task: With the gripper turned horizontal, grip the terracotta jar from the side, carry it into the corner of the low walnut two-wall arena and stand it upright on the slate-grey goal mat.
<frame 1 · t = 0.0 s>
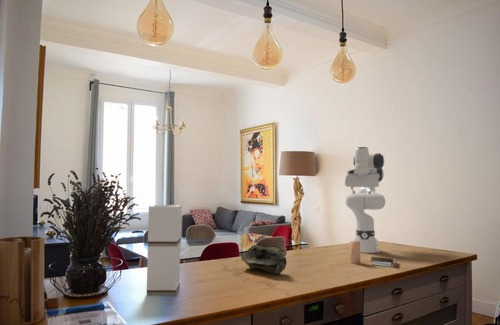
hand: (361, 194, 231), 39 cm above the kitchen island, fingers open, 8 cm apart
hollow geode rock: (264, 272, 189), on the kitchen island
white banded pillar: (163, 292, 152), on the kitchen island
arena: (381, 264, 209), on the kitchen island
terracotta jar: (355, 262, 212), on the kitchen island
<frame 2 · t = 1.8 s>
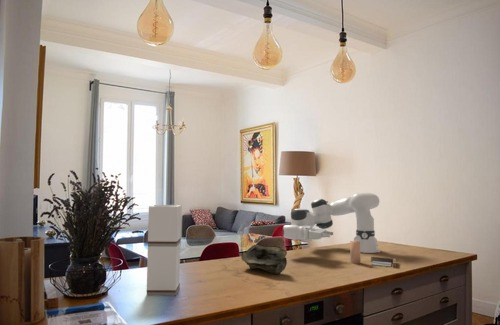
hand: (331, 234, 219), 15 cm above the kitchen island, fingers open, 8 cm apart
nothing on the kitchen island moved.
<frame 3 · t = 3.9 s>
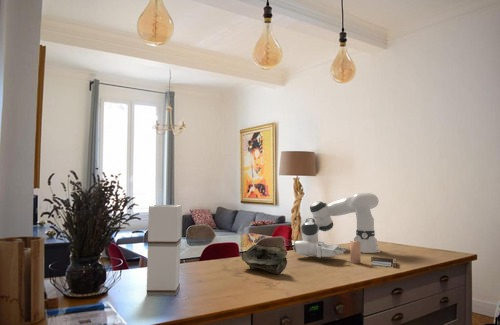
hand: (344, 251, 215), 6 cm above the kitchen island, fingers open, 8 cm apart
nothing on the kitchen island moved.
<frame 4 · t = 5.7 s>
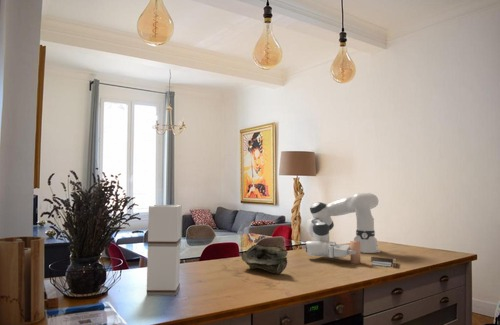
hand: (357, 251, 213), 7 cm above the kitchen island, fingers closed on terracotta jar, 5 cm apart
terracotta jar: (355, 262, 212), on the kitchen island, touching gripper
everything else where it was.
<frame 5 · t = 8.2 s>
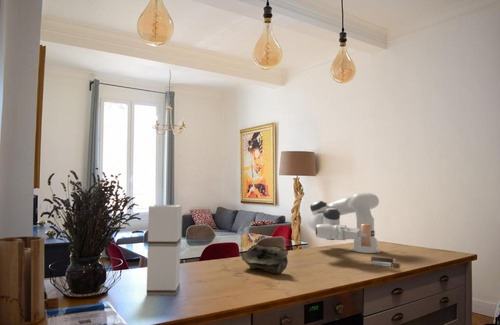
hand: (367, 234, 211), 17 cm above the kitchen island, fingers closed on terracotta jar, 5 cm apart
terracotta jar: (365, 245, 211), point 10 cm above the kitchen island, touching gripper
everything else where it was.
when the fingers open (8 cm above the kitchen island, at t = 10.9 s): terracotta jar drops 1 cm, resting on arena.
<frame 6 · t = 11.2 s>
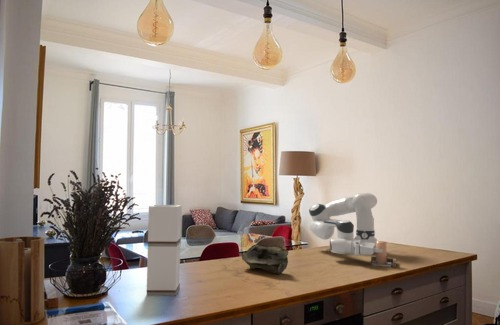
hand: (383, 249, 209), 8 cm above the kitchen island, fingers open, 8 cm apart
terracotta jar: (381, 263, 209), point 1 cm above the kitchen island, touching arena
everything else where it was.
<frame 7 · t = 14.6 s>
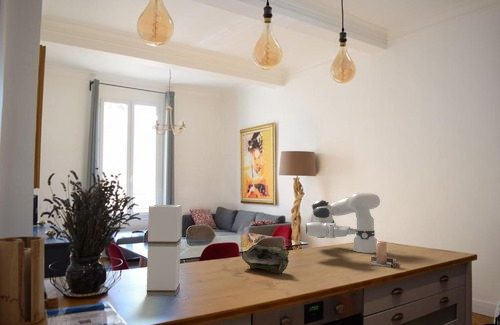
hand: (356, 231, 215), 17 cm above the kitchen island, fingers open, 8 cm apart
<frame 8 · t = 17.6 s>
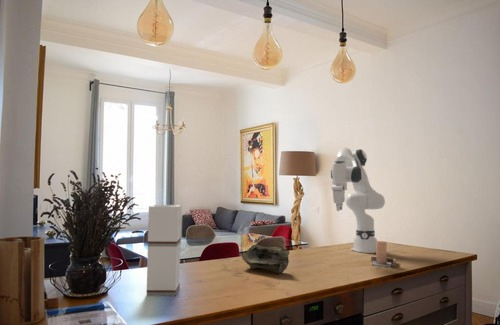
hand: (339, 210, 224), 29 cm above the kitchen island, fingers open, 8 cm apart
at the end: terracotta jar 0.0 cm off-centre on the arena, point 0.5 cm above the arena's base; terracotta jar tilted 0°; the gripper is holding nothing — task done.
